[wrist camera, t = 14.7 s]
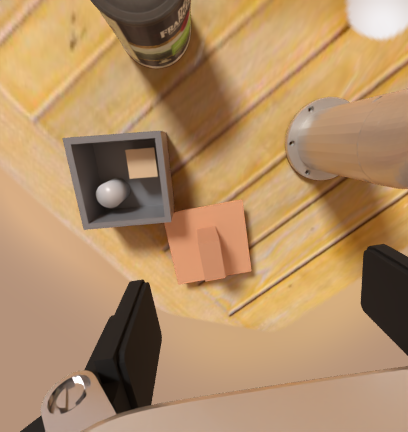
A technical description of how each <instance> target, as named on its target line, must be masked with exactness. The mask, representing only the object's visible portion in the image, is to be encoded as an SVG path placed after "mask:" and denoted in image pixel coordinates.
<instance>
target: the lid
mask: <svg viewBox="0 0 408 432" xmlns="http://www.w3.org/2000/svg"><path fill="white" fill-rule="evenodd" d="M164 225H165V229H166V233H167V238H168V242H169V246H170V250H171V255H172V259H173V263H174V267H175V272H176V276H177V280H178V284H185V283H190V282H196V281H201V280H205V282H206V281H211V280H217V279H222V278H226V277H225V276H229V275H234V274H239V273H245V272H250V271H251V263H250V256H249V248H248V240H247V232H246V225H245V217H244V209H243V201H242V199H241V200H235V201H230V202H224V203H219V204H213V205H208V206H202V207H197V208H191V209H186V210H180V211H175V212H174V213H173V217H172V221H171V222H166V223H164Z"/></svg>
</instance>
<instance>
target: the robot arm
mask: <svg viewBox="0 0 408 432" xmlns="http://www.w3.org/2000/svg"><path fill="white" fill-rule="evenodd" d="M308 108H309V109H310V111H308ZM290 142H291V145H290V144H289V143H290ZM285 150H286V155H287V158H288V161H289V163H290V164H291V166H292V167H293V168H294V170H295V171H296V172H298V173H299V174H300V175H302V176H304V177H306V178H309V179H312V180H328V179H332V178H335V177H337V176H343V177H348V178H352V179H356V180H361V181H365V182H370V183H374V184H378V185H383V186H388V187H392V188H398V189H408V89H404V90H400V91H396V92H392V93H388V94H384V95H379V96H375V97H371V98H367V99H363V100H359V101H355V102H349V101H347V100H345V99H342V98H338V97H326V98H321V99H318V100H315V101H313V102H311V103H309V104H307V105H306V106H305V107H303V108H302V109H301V110H300V111H299V112H298V113H297V114H296V115H295V117H294V118H293V120H292V121H291V123H290V125H289V128H288V130H287V134H286V139H285ZM306 171H307V172H306ZM305 172H306V173H305ZM361 306H362V308H363V311H364V312H365V313H366V314H367V315H368V316H369V317H370V318H371V319H372V320H373V321H374V322H375V323H376V324H377V325H378V326H379V327H380V328H381V329H382V330H383V331H384V332H385V333H386V334H387V335H388V336H389V337H390V338H391V339H392V340H393V341H394V342H395V343H396V344H397V345H398V346H399V347H400V348H401V349H402V350H403V351H404V352H405V353H406V354H407V355H408V257H407V256H405V255H403V254H402V253H400V252H398V251H396V250H394V249H393V248H391V247H389V246H387V245H385V244H381V245H374V246H369V247H368V248H367V250H365V251H364V255H363V273H362V291H361ZM161 341H162V335H161V330H160V326H159V321H158V317H157V314H156V309H155V305H154V301H153V297H152V293H151V289H150V285H149V283H148V282H147V283H145V281H144V280H137V281H131V282H129V284H128V286H127V289H126V291H125V293H124V295H123V297H122V300H121V302H120V304H119V306H118V308H117V310H116V313H115V315H113V316H111V317H110V318H109V320H108V322H107V324H106V326H105V328H104V330H103V332H102V334H101V336H100V338H99V340H98V343H97V345H96V347H95V349H94V351H93V353H92V355H91V357H90V359H89V361H88V363H87V366H86V368H85V370H84V371H77V372H74V373H71V374H69V375H68V376H66V377H64V378H62V379H61V380H60V381H59V382H57V383H56V384H55V385H54V386H53V387H52V388H51V389H50V390H49V392H48V393H47V395H46V396H45V398H44V400H43V402H42V405H41V416H40V417H39V418H37V419H36V420H35V421H33V422H32V423H31V424H30V425H28V426H27V427H26V428H24V429H23V430H22V431H20V432H408V366H406V367H398V368H391V369H384V370H376V371H370V372H363V373H355V374H348V375H341V376H334V377H328V378H320V379H314V380H306V381H300V382H293V383H286V384H279V385H273V386H266V387H259V388H252V389H246V390H239V391H233V392H226V393H219V394H212V395H207V396H200V397H194V398H188V399H182V400H176V401H170V402H165V403H159V404H155V405H151V402H152V396H153V389H154V384H155V378H156V371H157V366H158V359H159V353H160V347H161Z"/></svg>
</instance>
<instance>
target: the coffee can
mask: <svg viewBox="0 0 408 432" xmlns="http://www.w3.org/2000/svg"><path fill="white" fill-rule="evenodd" d="M91 2H92V3H93V4H94V5H95V6H96V7H97V8H98V10H99V11H100V12H101V14H102V16H103V17H104V19H105V20H106V21H107V23H108V24H109V26H110V27H111V28H112V30H113V31H114V33H115V34H116V36H117V37H118V39H119V40H120V42H121V43H122V45H123V47H124V49H125V50H126V52H127V53H128V54H129V55H130V56H131V57H132V58H133V59H134V60H135V61H137V62H138V63H139V64H141V65H144V66H146V67H150V68H164V67H168V66H170V65H172V64H174V63H175V62H176V61H178V60H179V59H180V58H181V56H182V55H183V54H184V52H185V51H186V49H187V47H188V44H189V41H190V36H191V0H91Z"/></svg>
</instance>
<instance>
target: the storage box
mask: <svg viewBox="0 0 408 432" xmlns="http://www.w3.org/2000/svg"><path fill="white" fill-rule="evenodd" d="M63 142H64V147H65V151H66V155H67V160H68V164H69V168H70V172H71V177H72V181H73V185H74V190H75V194H76V198H77V203H78V207H79V211H80V215H81V220H82V224H83V228H84V230H87V229H98V228H109V227H121V226H132V225H144V224H155V223H166V222H171V221H172V217H173V213H174V208H175V206H174V197H173V188H172V179H171V170H170V161H169V152H168V144H167V135H166V133H165V132H163V131H151V132H137V133H124V134H111V135H98V136H84V137H71V138H63Z"/></svg>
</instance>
